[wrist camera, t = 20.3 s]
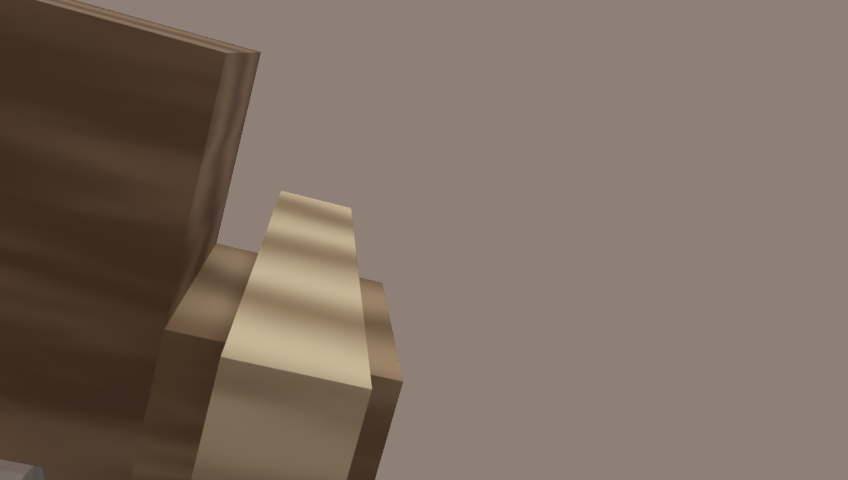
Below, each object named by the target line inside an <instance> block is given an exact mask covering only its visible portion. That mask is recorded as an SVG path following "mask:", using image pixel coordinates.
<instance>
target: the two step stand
mask: <svg viewBox="0 0 848 480" xmlns="http://www.w3.org/2000/svg"><path fill="white" fill-rule="evenodd" d="M259 57H260V52H258V51H254V50H251V49H247V48H243V47H240V46H236V45H233V44H229V43H226V42H222V41H219V40H215V39H211V38H208V37H204V36H201V35H197V34H193V33H190V32H186V31H183V30H179V29H175V28H172V27H169V26H165V25H161V24H158V23H154V22H151V21H147V20H143V19H140V18H136V17H133V16H129V15H126V14H122V13H118V12H115V11H111V10H108V9H104V8H100V7H97V6H93V5H90V4H86V3H83V2H79V1H76V0H0V459H4V460H10V461H15V462H21V463H26V464H32V465H37V466H42V470H43V475H44V480H192V479H191V478H192V474H193V469H194V465H195V461H196V457H197V453H198V449H199V444H200V440H201V436H202V432H203V428H204V424H205V420H206V415H207V411H208V407H209V403H210V399H211V395H212V390H213V386H214V382H215V378H216V374H217V370H218V365H219V361H220V357H221V354H222V352H223V349H224V346H225V343H226V341H227V338H228V335H229V332H230V330H231V327H232V324H233V321H234V319H235V316H236V313H237V310H238V308H239V305H240V302H241V300H242V297H243V294H244V291H245V289H246V286H247V283H248V280H249V278H250V275H251V272H252V269H253V267H254V264H255V261H256V258H257V256H258V253H255V252H250V251H246V250H242V249H237V248H233V247H229V246H225V245H221V244H217V243H216V242H217V238H218V233H219V229H220V225H221V221H222V217H223V212H224V208H225V203H226V199H227V195H228V190H229V186H230V182H231V178H232V174H233V169H234V165H235V161H236V156H237V152H238V147H239V143H240V139H241V135H242V130H243V126H244V122H245V118H246V113H247V109H248V105H249V100H250V96H251V92H252V88H253V83H254V79H255V75H256V70H257V66H258V62H259ZM359 282H360V290H361V299H362V307H363V316H364V324H365V333H366V341H367V350H368V358H369V367H370V375H371V384H372V392H371V395H370V399H369V402H368V406H367V409H366V413H365V416H364V420H363V424H362V427H361V431H360V434H359V438H358V441H357V445H356V448H355V452H354V455H353V459H352V463H351V466H350V470H349V473H348V477H347V480H375V477H376V473H377V470H378V467H379V463H380V460H381V456H382V453H383V449H384V446H385V442H386V439H387V436H388V432H389V428H390V425H391V421H392V418H393V415H394V411H395V408H396V404H397V401H398V398H399V394H400V391H401V387H402V384H403V379H402V374H401V369H400V365H399V360H398V355H397V350H396V346H395V341H394V337H393V332H392V327H391V322H390V318H389V313H388V308H387V303H386V299H385V294H384V289H383V285H382V283H380V282H376V281H372V280H367V279H363V278H359Z"/></svg>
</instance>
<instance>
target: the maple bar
mask: <svg viewBox="0 0 848 480" xmlns="http://www.w3.org/2000/svg"><path fill="white" fill-rule="evenodd" d="M371 392H372V384H371V375H370V367H369V358H368V350H367V341H366V333H365V324H364V316H363V307H362V299H361V290H360V282H359V273H358V265H357V256H356V247H355V239H354V230H353V223H352V213H351V208H348V207H344V206H340V205H336V204H332V203H328V202H324V201H320V200H316V199H312V198H308V197H304V196H300V195H296V194H292V193H288V192H285V191H281V193H280V196H279V198H278V201H277V204H276V206H275V210H274V212H273V215H272V218H271V220H270V223H269V226H268V228H267V231H266V234H265V237H264V239H263V242H262V245H261V248H260V250H259V253H258V256H257V258H256V261H255V264H254V267H253V269H252V272H251V275H250V278H249V280H248V283H247V286H246V289H245V291H244V294H243V297H242V300H241V302H240V305H239V308H238V310H237V313H236V316H235V319H234V321H233V324H232V327H231V330H230V332H229V335H228V338H227V341H226V343H225V346H224V349H223V352H222V354H221V357H220V361H219V365H218V370H217V374H216V378H215V382H214V386H213V390H212V395H211V399H210V403H209V407H208V411H207V415H206V420H205V424H204V428H203V432H202V436H201V440H200V444H199V449H198V453H197V457H196V461H195V465H194V469H193V474H192V478H191V479H192V480H347V477H348V473H349V470H350V466H351V463H352V459H353V455H354V452H355V448H356V445H357V441H358V438H359V434H360V431H361V427H362V424H363V420H364V416H365V413H366V409H367V406H368V402H369V399H370V395H371Z"/></svg>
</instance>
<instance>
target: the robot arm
mask: <svg viewBox="0 0 848 480" xmlns="http://www.w3.org/2000/svg"><path fill="white" fill-rule="evenodd" d="M0 480H44V475H43V470H42V466H37V465H32V464H26V463H21V462H15V461H10V460H4V459H0Z"/></svg>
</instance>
